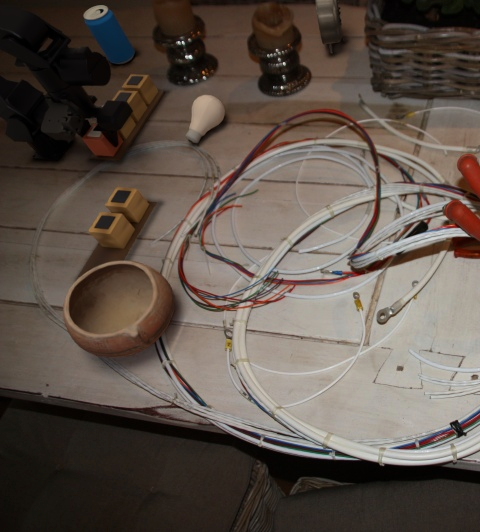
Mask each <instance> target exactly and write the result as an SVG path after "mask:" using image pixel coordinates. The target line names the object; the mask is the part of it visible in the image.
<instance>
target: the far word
mask: <svg viewBox="0 0 480 532" xmlns="http://www.w3.org/2000/svg"><path fill="white" fill-rule="evenodd" d="M121 89H122V90H120V89H119V90H118V92H117V93H116V94H115V95H114V97H113V98H112V99H111V100H112V101H126V102H128V104H129V105H130V107H131V108H132V110H133V112H132V114H131V115H130V117H129V118H128V120H127V121H126V123H125V124H124V126H123V127H122V128H121V129H120V130H118V131H117V133H118V134H119V136H120V137H121V139H122V140H123V143H122V144H121V146H120V147H119V149H118V150H117V152H116V153H115V155H114V156H101V155H94V153H93V152H91V153H92V154H91V155H90V156H89V159H90V160H91V161H102V162H103V161H105V162H117V163H121V161H122V160H123V158H124V157H125V155H126V153H127V152H128V150H129V149H130V147H131V146H132V144H133V143H134V141H135V139H136V138H137V136H138V135H139V134H140V132H141V130H142V129H143V128H144V126H145V124H146V123H147V121H148V120H149V118H150V117H151V115H152V114H153V112H154V111H155V109H156V108H157V106H158V104H159V103H160V101H161V100H162V98H163V97H164V96H165V94H166V91H165V90H163V89H162V90H161V89H157V87H156V85H155V84H154V82H153V80H152V77H151V76H150V75H149V74H137V73H136V74H135V73H134V74H133V73H131V74H130V75H129V77H128V78H127V79H126V81H124V83H123V84H122V86H121Z"/></svg>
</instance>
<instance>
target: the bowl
mask: <svg viewBox="0 0 480 532" xmlns="http://www.w3.org/2000/svg"><path fill="white" fill-rule="evenodd" d="M174 312H175V295H174V291H173V288H172V286H171V284H170V282H169V281H168V280H167V279H166V277H164V276H163V274H161V273H160V272H159V271H157V270H156V269H154V268H152V267H151V266H149V265H147V264H145V263H141V262H138V261H134V260H125V259H124V261H112V262H108V263H105V264H101V265H99V266H97V267H94V268H93V269H91V270H89V271H88V272H86V273H85V274H83V275H82V276H81V277H78V279H77V280H75V282H74V283H73V284H72V285H71V286H70V287H69V289H68V291H67V292H66V295H65V298H64V302H63V307H62V317H63V321H64V325H65V328H66V331H67V333H68V335H69V336H70V337H71V339H72V340H73V342H74V343H75V344H76V345H77V346H78V347H79V348H81V349H82V350H83V351H85V352H87V353H89V354H91V355H94V356H96V357H101V358H102V357H103V358H123V357H127V356H131V355H135V354H137V353H140V352H142V351H144V350H146V349H148V348H149V347H151V345H152V346H153V344H154V343H156V342H157V341H158V340H159V338H161V336H162V335H163V334H164V333H165V331H166V330H167V328H168V326H169V325H170V323H171V321H172V318H173V315H174Z"/></svg>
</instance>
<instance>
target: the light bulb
mask: <svg viewBox="0 0 480 532" xmlns="http://www.w3.org/2000/svg"><path fill="white" fill-rule="evenodd" d="M225 115H226V110H225V106H224V104H223V103H222V101H221V100H220V99H218V98H217V97H216V96H214V95H210V94H202V95H200V96H198V97H196V99H195V100H194V101H193V103H192V106H191V121H190V124H189V126H188V127H189V129H188V130H187V132H186V134H185V138H186V139H187V141H188V142H189V143H190V144H198V143H199V142H200V140H201V139H202V137H203V136H205V135H206V133H207V132H208V131H210V130H213V129H214V128H216V127H217V126H219V125H220V124H221V123H222V122H223V120H224V117H225Z"/></svg>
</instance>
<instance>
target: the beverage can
mask: <svg viewBox="0 0 480 532" xmlns="http://www.w3.org/2000/svg"><path fill="white" fill-rule="evenodd" d="M83 18H84V22H85V25H86V27H87V28H88V30H89V32H90V33H91V34H92V36H93V38H94V40H95V41H96V42H97V44H98V45H99V47H100V48H101V50H102V52H103V53H104V55H105V57H106V59H107V60H108V62H110V63H111V64H116V65H123V64H126V63H128V62H130V61H131V60H132V59H133V58H134V55H135V53H136V51H135V49H134V47H133V45H132V43H131V41H130V40H129V38H128V36H127V35H126V33H125V31H124V29H123V28H122V26H121V24H120V23H119V21H118V19H117V18H116V16H115V14H114V12H113V11H112V10H111V9H110V8H109V7H108V6H106V5H103V4H101V5H95V6H92V7H90V8H88V9H87V10H86V11H84V12H83Z"/></svg>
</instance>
